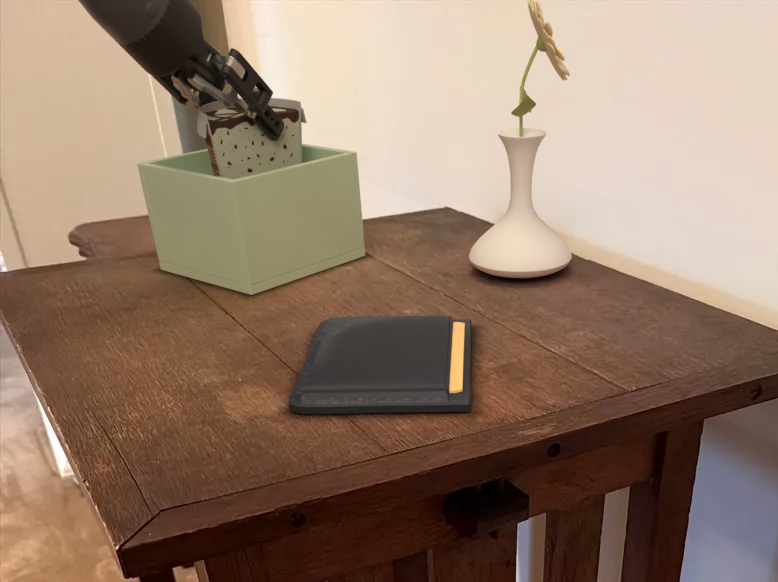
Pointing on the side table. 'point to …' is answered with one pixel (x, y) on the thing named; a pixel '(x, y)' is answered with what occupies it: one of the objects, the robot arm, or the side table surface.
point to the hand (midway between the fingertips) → (254, 129)
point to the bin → (254, 218)
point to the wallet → (386, 366)
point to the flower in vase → (524, 190)
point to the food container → (250, 139)
